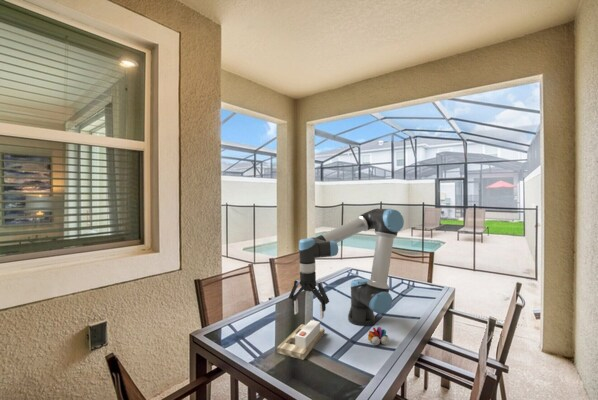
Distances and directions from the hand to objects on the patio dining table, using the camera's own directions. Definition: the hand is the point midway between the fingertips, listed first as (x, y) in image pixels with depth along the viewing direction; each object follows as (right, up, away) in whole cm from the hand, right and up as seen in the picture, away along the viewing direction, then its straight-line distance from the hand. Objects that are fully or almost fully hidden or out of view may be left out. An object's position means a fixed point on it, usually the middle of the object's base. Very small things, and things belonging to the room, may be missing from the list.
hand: (309, 315), depth 134 cm
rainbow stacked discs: (+34, -14, +1) cm, 36 cm away
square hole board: (-3, -14, +1) cm, 14 cm away
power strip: (0, -13, 0) cm, 13 cm away
